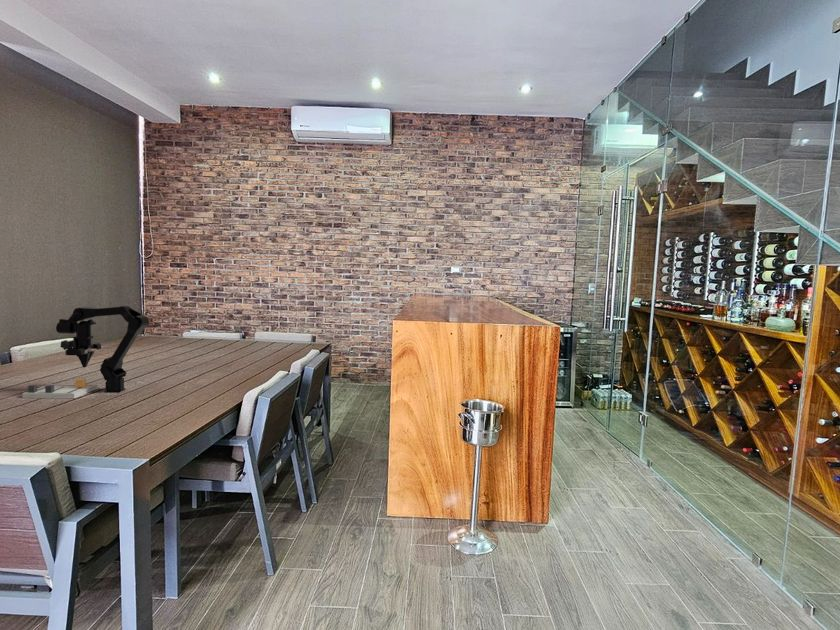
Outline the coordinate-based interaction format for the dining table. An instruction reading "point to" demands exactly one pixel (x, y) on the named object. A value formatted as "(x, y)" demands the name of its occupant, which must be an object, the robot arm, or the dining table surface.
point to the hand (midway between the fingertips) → (84, 367)
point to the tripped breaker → (80, 383)
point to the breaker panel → (57, 391)
